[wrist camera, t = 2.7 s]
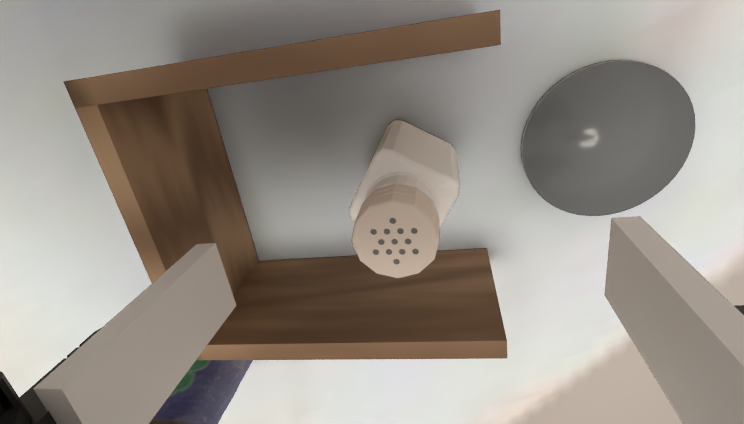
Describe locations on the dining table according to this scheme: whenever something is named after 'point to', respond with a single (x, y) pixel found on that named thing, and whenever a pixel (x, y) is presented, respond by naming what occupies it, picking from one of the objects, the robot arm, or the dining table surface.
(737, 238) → the dining table surface
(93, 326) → the dining table surface
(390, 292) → the wooden u-shaped frame
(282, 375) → the dining table surface
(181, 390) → the flask
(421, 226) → the pepper shaker
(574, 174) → the slate coaster
